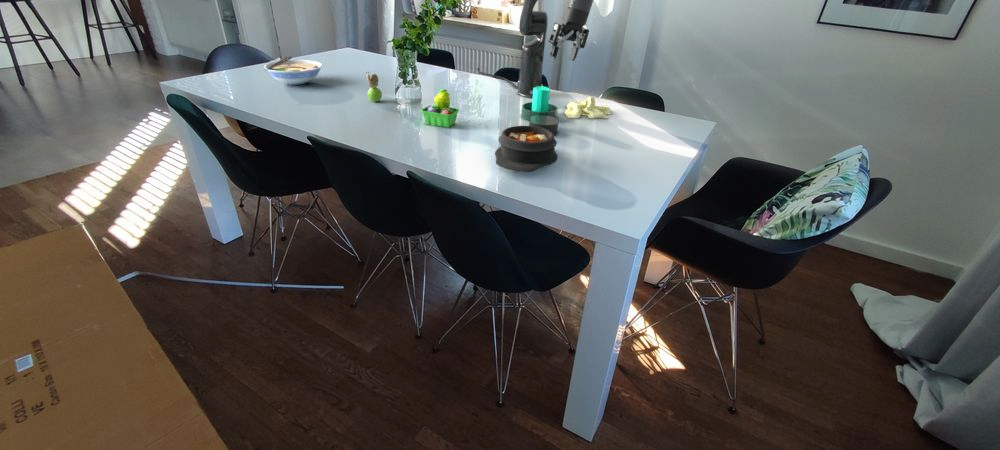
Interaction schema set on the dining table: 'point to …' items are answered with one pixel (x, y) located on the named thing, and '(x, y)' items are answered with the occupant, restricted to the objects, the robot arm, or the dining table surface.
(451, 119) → the fruit basket
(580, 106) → the cloth
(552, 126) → the stand
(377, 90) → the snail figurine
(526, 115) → the tin
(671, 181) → the dining table surface
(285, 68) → the ramen bowl
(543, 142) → the casserole
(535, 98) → the candle
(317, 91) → the dining table surface
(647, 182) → the dining table surface
